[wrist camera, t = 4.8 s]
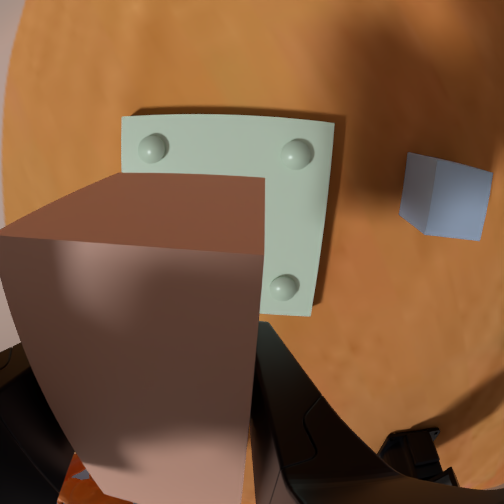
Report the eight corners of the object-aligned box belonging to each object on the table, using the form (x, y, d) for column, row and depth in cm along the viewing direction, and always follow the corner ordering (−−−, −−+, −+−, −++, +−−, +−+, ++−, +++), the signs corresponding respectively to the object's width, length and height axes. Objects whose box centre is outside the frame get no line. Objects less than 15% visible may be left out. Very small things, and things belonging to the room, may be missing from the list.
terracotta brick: (247, 399, 11) (239, 519, 7) (144, 386, 11) (104, 494, 7) (264, 177, 8) (264, 254, 4) (118, 172, 8) (-9, 234, 4)
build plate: (308, 308, 22) (310, 318, 20) (136, 293, 22) (130, 302, 21) (331, 123, 17) (335, 123, 16) (128, 117, 17) (119, 116, 16)
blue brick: (448, 220, 19) (479, 240, 15) (398, 214, 19) (424, 234, 15) (458, 162, 17) (492, 173, 14) (407, 152, 17) (437, 159, 14)
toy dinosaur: (173, 413, 27) (124, 588, 10) (182, 467, 31) (153, 599, 14) (70, 388, 27) (-6, 526, 10) (96, 446, 31) (49, 561, 14)
